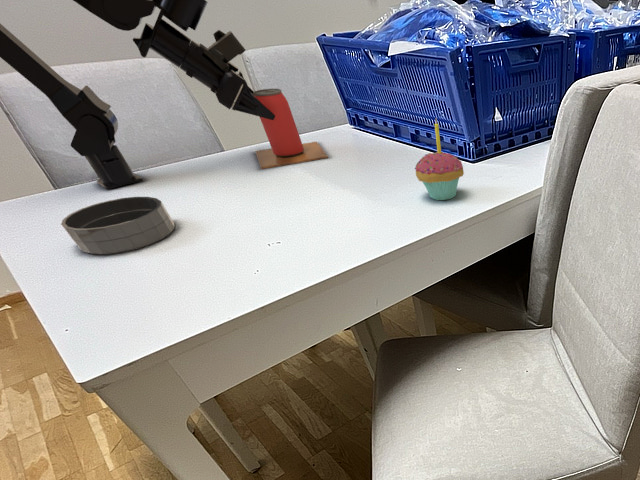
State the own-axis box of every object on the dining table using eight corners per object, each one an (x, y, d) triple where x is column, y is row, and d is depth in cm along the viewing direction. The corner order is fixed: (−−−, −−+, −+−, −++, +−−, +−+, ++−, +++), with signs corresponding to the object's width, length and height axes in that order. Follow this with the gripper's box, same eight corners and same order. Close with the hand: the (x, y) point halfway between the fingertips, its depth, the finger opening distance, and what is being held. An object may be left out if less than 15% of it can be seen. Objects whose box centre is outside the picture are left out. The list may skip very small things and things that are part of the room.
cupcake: (428, 186, 86) (416, 114, 77) (471, 188, 85) (463, 115, 76) (414, 203, 80) (398, 127, 71) (460, 205, 79) (449, 128, 70)
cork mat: (261, 169, 96) (260, 167, 95) (255, 152, 105) (254, 151, 104) (328, 158, 100) (327, 156, 100) (317, 143, 109) (316, 141, 109)
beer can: (311, 150, 104) (290, 88, 95) (291, 158, 99) (268, 94, 91) (287, 148, 105) (265, 87, 97) (268, 156, 101) (242, 93, 92)
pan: (70, 240, 72) (51, 215, 69) (158, 214, 79) (144, 190, 76) (95, 263, 65) (75, 237, 63) (188, 233, 72) (174, 208, 70)
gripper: (204, 16, 77) (295, 86, 88) (202, 10, 89) (283, 73, 100) (178, 76, 80) (270, 136, 91) (179, 63, 92) (261, 118, 103)
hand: (271, 113), depth 96 cm, fingers open, 9 cm apart
